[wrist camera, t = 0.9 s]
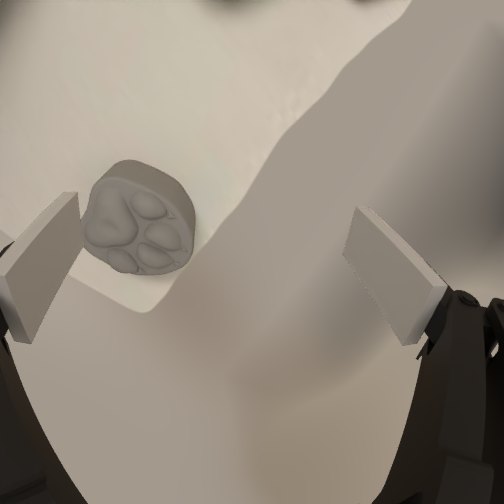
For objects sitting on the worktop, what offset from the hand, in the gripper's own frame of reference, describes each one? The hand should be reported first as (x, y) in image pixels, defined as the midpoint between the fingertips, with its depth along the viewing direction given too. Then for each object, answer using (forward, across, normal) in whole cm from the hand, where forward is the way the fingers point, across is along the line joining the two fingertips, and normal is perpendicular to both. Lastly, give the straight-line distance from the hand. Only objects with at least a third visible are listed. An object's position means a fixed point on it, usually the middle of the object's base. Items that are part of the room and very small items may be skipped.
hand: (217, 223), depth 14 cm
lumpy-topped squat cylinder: (+24, -7, -10) cm, 27 cm away
